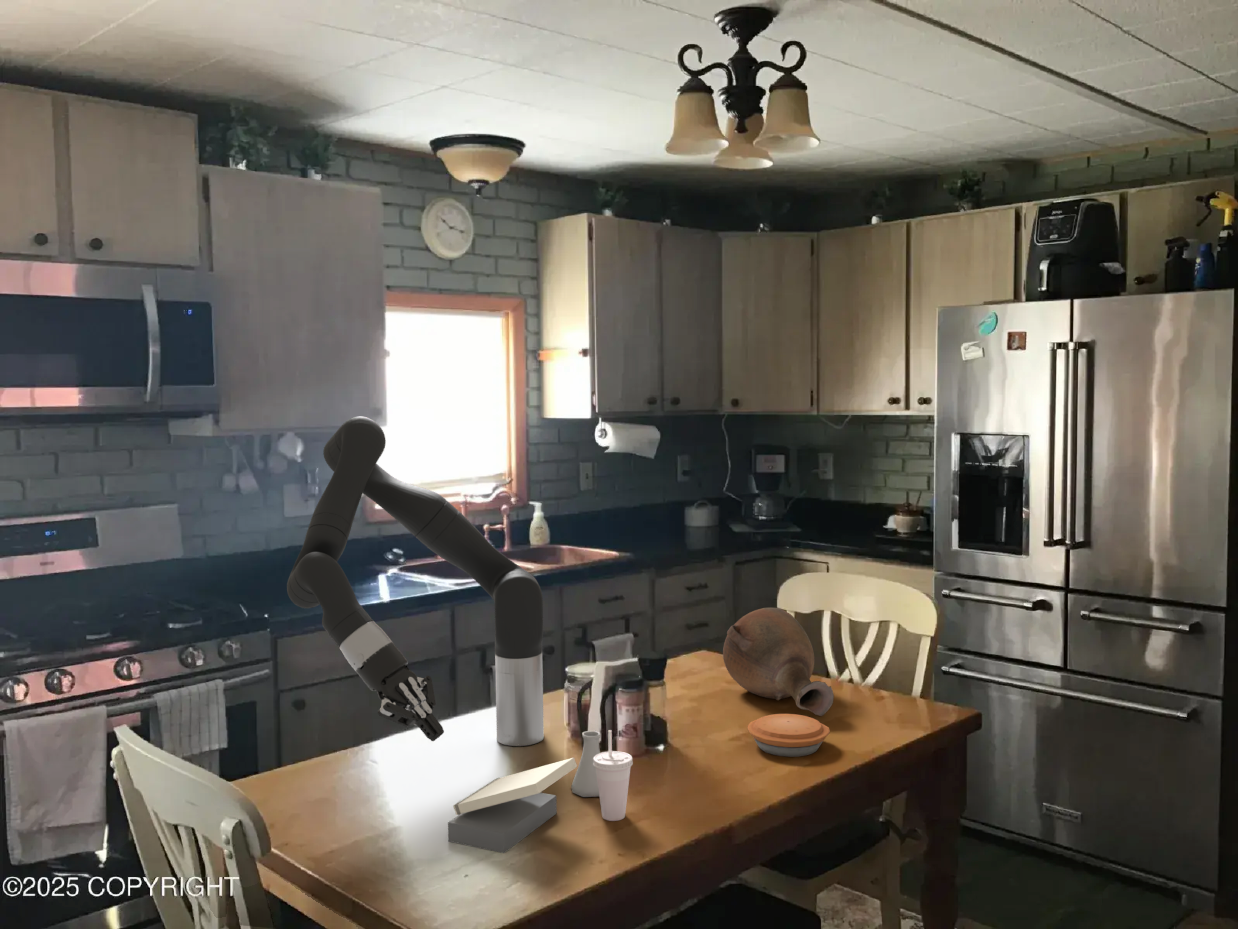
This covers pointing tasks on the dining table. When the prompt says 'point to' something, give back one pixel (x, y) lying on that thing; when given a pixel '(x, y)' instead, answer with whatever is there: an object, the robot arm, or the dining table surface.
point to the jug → (775, 659)
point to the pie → (788, 734)
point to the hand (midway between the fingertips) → (438, 737)
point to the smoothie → (613, 781)
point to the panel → (515, 786)
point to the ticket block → (502, 822)
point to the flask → (587, 767)
